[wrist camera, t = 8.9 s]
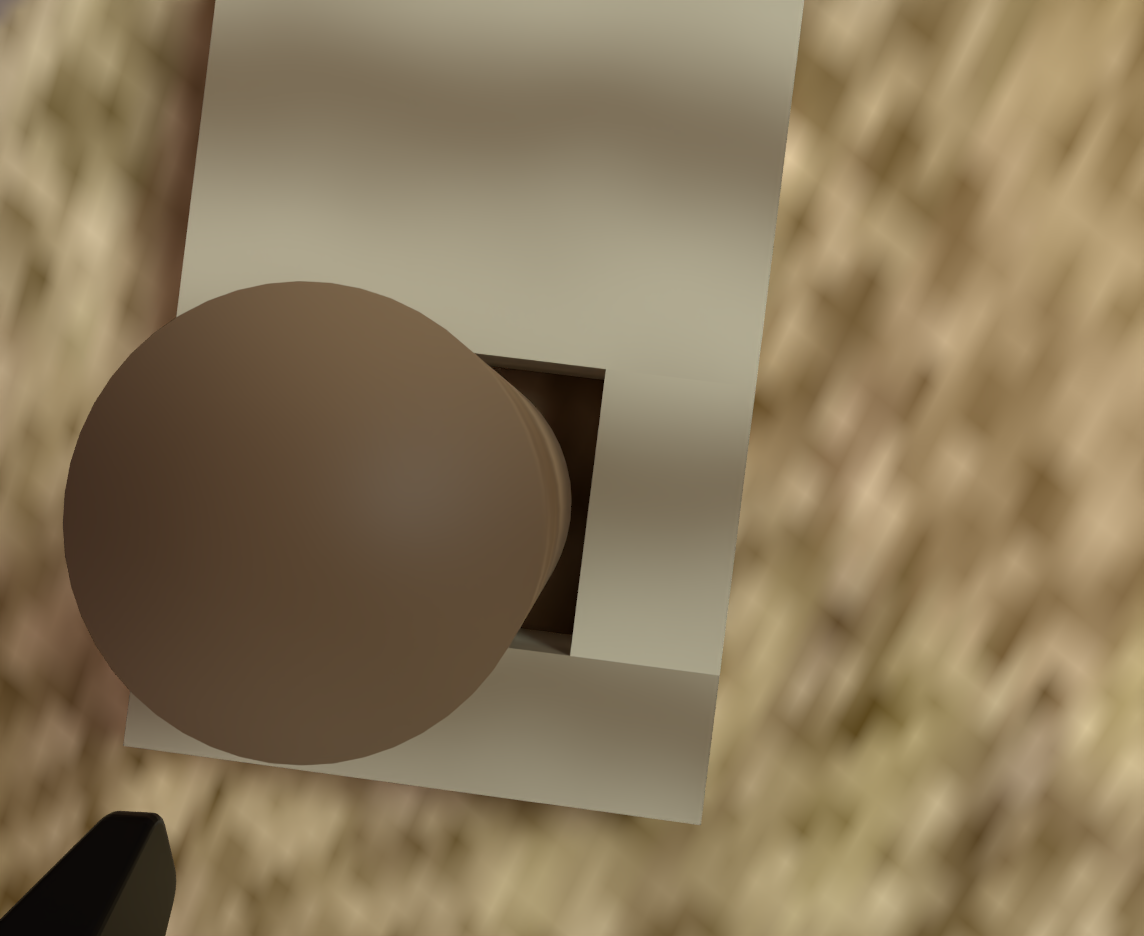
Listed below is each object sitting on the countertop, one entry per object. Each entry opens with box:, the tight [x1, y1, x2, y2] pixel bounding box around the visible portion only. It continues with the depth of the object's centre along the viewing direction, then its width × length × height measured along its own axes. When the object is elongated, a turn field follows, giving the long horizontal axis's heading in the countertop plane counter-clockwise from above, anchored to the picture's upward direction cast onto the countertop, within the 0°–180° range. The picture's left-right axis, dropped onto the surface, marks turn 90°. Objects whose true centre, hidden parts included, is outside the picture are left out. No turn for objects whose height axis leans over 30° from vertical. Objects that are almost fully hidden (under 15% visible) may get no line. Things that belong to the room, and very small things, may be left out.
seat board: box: [123, 0, 804, 825], centre depth 21 cm, size 16×11×2 cm
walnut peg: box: [63, 281, 572, 765], centre depth 17 cm, size 5×5×12 cm
